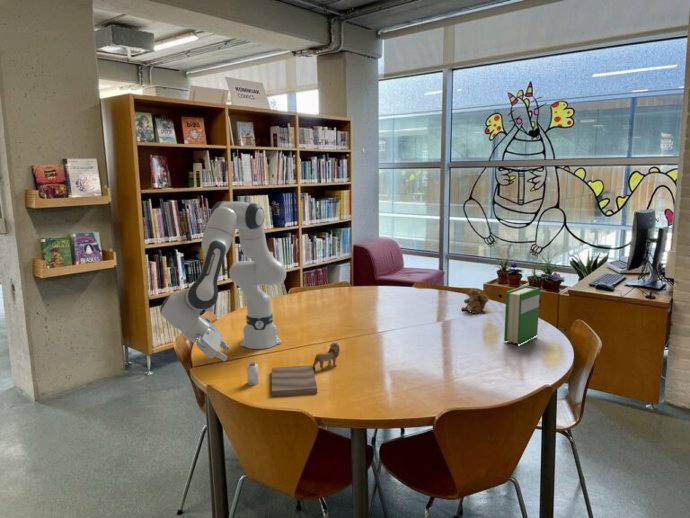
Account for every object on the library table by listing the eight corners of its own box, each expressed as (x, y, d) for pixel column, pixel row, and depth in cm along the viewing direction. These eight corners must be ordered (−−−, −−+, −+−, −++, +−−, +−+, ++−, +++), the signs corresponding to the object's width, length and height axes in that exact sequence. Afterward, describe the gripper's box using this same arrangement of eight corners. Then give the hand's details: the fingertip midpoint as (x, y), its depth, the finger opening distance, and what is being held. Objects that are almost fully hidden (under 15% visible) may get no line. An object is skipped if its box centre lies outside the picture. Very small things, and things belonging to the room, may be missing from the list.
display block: (271, 372, 198) (271, 367, 197) (312, 370, 200) (312, 365, 200) (272, 396, 176) (271, 391, 176) (317, 393, 179) (317, 387, 178)
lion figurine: (333, 360, 210) (333, 340, 208) (343, 363, 206) (342, 342, 205) (308, 371, 199) (308, 349, 197) (318, 374, 196) (317, 352, 194)
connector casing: (247, 381, 190) (247, 361, 188) (258, 380, 190) (257, 360, 189) (247, 385, 186) (246, 365, 184) (258, 384, 186) (257, 364, 185)
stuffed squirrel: (459, 310, 286) (460, 287, 284) (479, 307, 292) (480, 285, 289) (470, 314, 277) (471, 291, 275) (491, 311, 283) (491, 289, 280)
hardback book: (519, 346, 225) (521, 294, 221) (504, 342, 230) (506, 291, 226) (537, 337, 237) (539, 288, 233) (522, 334, 242) (524, 285, 238)
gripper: (200, 333, 172) (231, 358, 175) (207, 316, 192) (235, 339, 195) (187, 346, 172) (218, 371, 175) (196, 328, 192) (224, 351, 195)
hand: (227, 354), depth 185 cm, fingers open, 8 cm apart
